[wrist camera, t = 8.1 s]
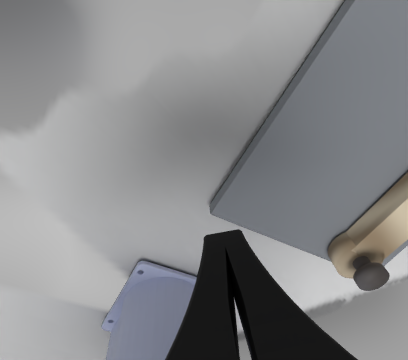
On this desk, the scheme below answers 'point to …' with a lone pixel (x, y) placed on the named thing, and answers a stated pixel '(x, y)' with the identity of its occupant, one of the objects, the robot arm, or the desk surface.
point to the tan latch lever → (373, 239)
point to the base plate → (329, 135)
